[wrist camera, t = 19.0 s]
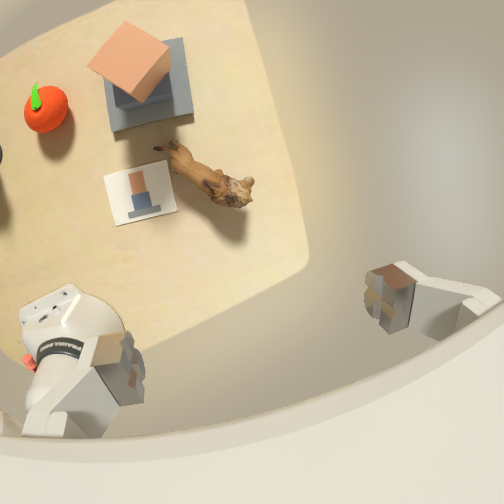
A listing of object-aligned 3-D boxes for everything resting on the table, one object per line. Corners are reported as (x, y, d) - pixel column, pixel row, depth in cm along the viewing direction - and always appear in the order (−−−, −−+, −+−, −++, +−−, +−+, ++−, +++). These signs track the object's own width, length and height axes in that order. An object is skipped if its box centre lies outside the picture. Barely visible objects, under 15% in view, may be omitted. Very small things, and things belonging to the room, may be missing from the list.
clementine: (32, 94, 31) (11, 90, 25) (69, 75, 32) (51, 67, 26) (41, 139, 35) (20, 141, 28) (78, 122, 36) (61, 120, 29)
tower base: (114, 132, 38) (99, 131, 30) (103, 59, 33) (88, 45, 26) (193, 113, 39) (195, 108, 32) (182, 40, 35) (183, 21, 27)
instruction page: (116, 225, 43) (115, 226, 43) (103, 175, 40) (102, 176, 39) (177, 210, 44) (177, 211, 44) (166, 159, 41) (166, 159, 41)
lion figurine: (248, 174, 45) (265, 184, 37) (232, 205, 46) (245, 221, 38) (161, 132, 39) (157, 131, 31) (145, 165, 40) (137, 173, 32)
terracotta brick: (142, 103, 30) (130, 93, 22) (108, 81, 28) (86, 65, 20) (172, 67, 30) (169, 46, 21) (137, 45, 27) (125, 20, 19)
